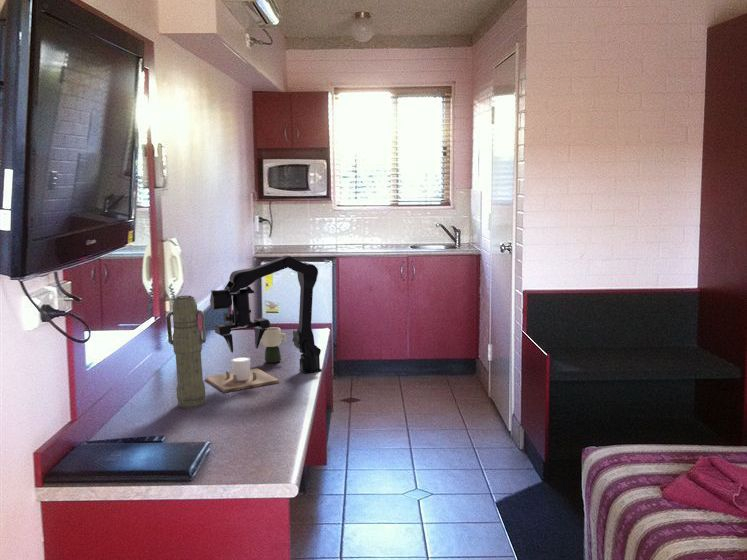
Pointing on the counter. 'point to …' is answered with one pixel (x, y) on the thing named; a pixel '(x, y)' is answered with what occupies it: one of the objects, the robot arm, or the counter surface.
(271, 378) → the pin plate
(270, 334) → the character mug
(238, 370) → the shot glass
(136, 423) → the counter surface
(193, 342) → the thermos
